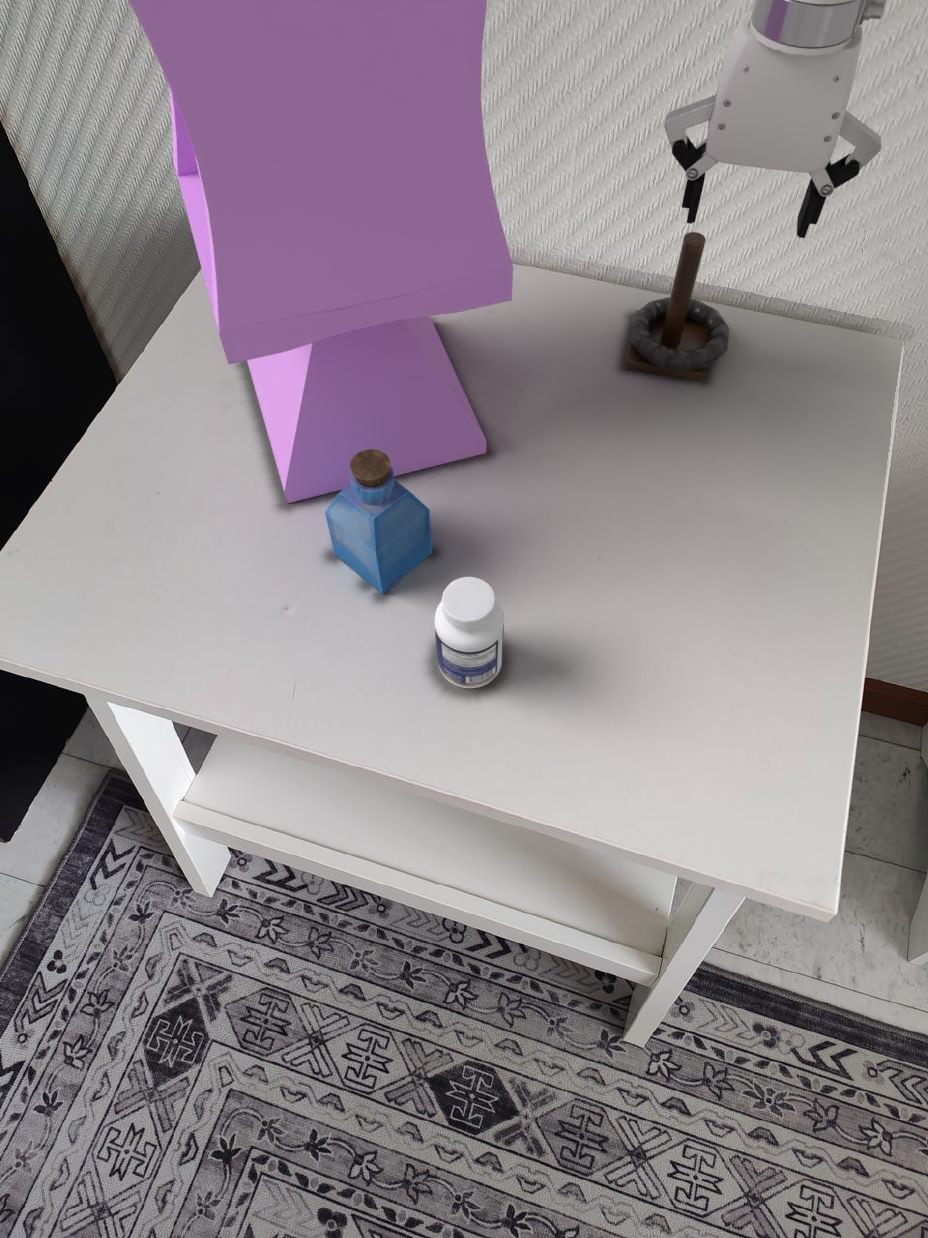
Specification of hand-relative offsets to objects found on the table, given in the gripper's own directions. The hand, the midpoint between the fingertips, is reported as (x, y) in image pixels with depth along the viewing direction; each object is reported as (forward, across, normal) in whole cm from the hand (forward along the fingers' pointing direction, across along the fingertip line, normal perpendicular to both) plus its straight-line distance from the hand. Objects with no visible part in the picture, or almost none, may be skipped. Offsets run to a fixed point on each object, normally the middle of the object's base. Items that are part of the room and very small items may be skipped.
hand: (745, 221), depth 79 cm
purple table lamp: (+16, +33, +15) cm, 39 cm away
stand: (+15, +4, 0) cm, 16 cm away
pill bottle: (+16, +16, +41) cm, 47 cm away
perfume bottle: (+16, +26, +32) cm, 44 cm away
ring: (+13, +3, 0) cm, 14 cm away
